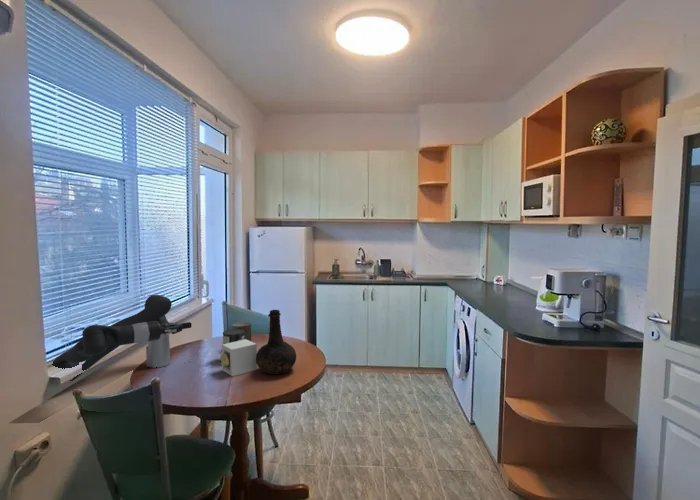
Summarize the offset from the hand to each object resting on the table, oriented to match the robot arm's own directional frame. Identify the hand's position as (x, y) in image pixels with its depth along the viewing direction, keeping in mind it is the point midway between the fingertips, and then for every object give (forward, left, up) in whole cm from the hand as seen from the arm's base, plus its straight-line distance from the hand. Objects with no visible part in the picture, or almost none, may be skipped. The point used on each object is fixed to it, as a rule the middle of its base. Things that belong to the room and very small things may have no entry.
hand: (190, 324), depth 160 cm
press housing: (+16, +14, -25) cm, 33 cm away
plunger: (+15, +13, -22) cm, 29 cm away
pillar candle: (+10, +45, -25) cm, 52 cm away
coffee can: (+10, +28, -25) cm, 39 cm away
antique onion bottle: (+33, +12, -25) cm, 43 cm away
